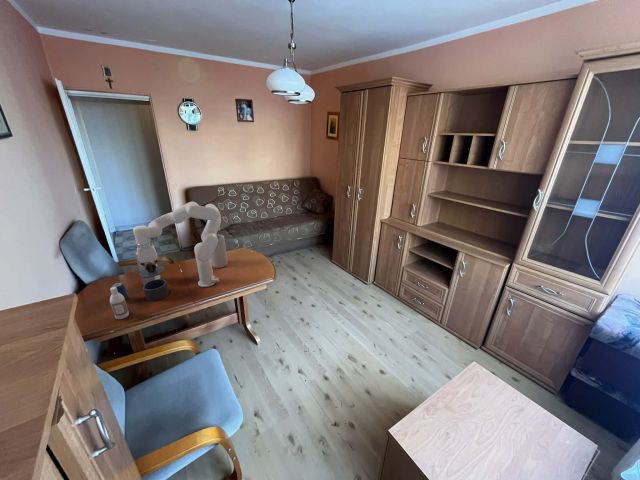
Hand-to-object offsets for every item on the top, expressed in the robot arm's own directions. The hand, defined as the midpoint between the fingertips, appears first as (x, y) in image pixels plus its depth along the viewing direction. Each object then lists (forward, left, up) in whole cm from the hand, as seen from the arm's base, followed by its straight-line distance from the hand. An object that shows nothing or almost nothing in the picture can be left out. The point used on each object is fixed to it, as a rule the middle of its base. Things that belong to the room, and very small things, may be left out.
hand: (151, 270), depth 173 cm
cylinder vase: (-28, -44, -19) cm, 55 cm away
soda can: (+20, +6, -19) cm, 29 cm away
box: (+13, -17, -19) cm, 29 cm away
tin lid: (0, 0, -1) cm, 1 cm away
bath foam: (+9, +22, -19) cm, 31 cm away
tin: (0, 0, -19) cm, 19 cm away
